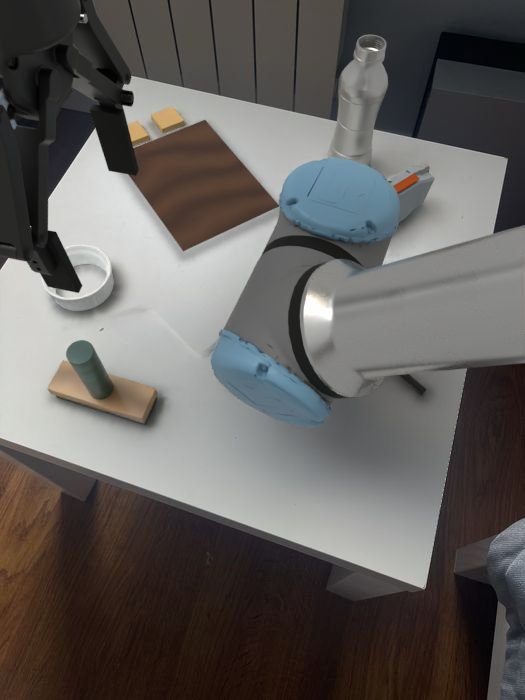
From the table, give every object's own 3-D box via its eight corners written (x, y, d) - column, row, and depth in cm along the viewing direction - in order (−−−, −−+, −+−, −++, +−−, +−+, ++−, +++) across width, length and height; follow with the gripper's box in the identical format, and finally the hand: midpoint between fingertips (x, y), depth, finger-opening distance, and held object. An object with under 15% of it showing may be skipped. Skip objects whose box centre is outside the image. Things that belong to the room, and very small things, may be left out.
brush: (145, 426, 63) (125, 385, 53) (53, 397, 65) (17, 352, 54) (159, 396, 65) (142, 351, 55) (69, 369, 66) (36, 320, 56)
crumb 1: (150, 145, 86) (148, 134, 84) (128, 154, 85) (125, 144, 83) (139, 130, 87) (137, 120, 86) (117, 139, 86) (114, 128, 84)
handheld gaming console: (412, 195, 82) (427, 153, 75) (426, 207, 80) (443, 165, 73) (341, 239, 77) (350, 199, 70) (355, 252, 76) (366, 213, 69)
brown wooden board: (279, 211, 80) (279, 205, 78) (184, 256, 75) (183, 251, 74) (205, 125, 88) (204, 119, 87) (116, 161, 84) (114, 155, 83)
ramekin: (51, 323, 70) (40, 304, 66) (50, 268, 74) (40, 248, 70) (120, 312, 71) (113, 293, 67) (116, 259, 75) (109, 239, 71)
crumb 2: (185, 130, 87) (184, 120, 86) (163, 139, 86) (161, 129, 85) (174, 116, 89) (172, 106, 87) (152, 125, 88) (150, 114, 86)
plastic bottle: (373, 179, 83) (406, 55, 65) (332, 186, 82) (354, 62, 65) (360, 150, 86) (388, 24, 68) (320, 157, 85) (338, 31, 68)
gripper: (27, -156, 35) (108, 124, 53) (-228, 82, 23) (-10, 335, 41) (138, -143, 34) (180, 136, 52) (-68, 110, 22) (81, 355, 41)
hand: (96, 224), depth 47 cm, fingers open, 13 cm apart
